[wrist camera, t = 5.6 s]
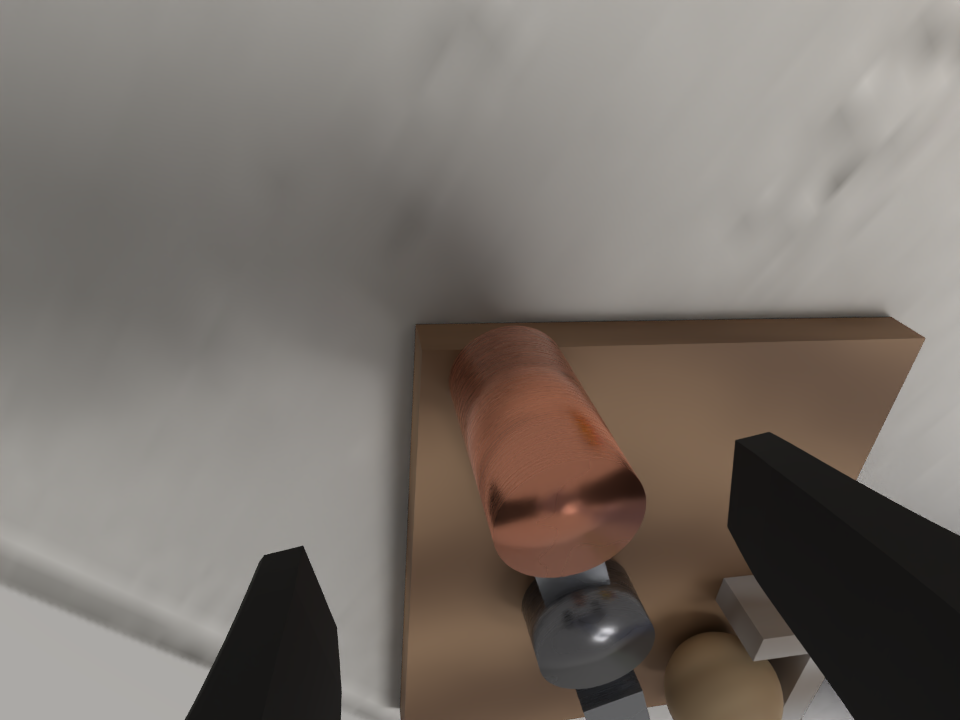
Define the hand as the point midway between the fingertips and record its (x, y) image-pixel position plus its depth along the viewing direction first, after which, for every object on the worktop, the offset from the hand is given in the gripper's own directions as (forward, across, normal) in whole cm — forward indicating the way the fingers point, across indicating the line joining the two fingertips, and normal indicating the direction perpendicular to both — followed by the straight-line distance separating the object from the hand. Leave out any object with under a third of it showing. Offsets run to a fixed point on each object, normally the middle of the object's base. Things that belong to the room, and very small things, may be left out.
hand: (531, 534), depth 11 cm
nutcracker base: (+6, -4, +8) cm, 10 cm away
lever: (+4, -1, +6) cm, 7 cm away
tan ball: (+5, -6, +12) cm, 14 cm away
